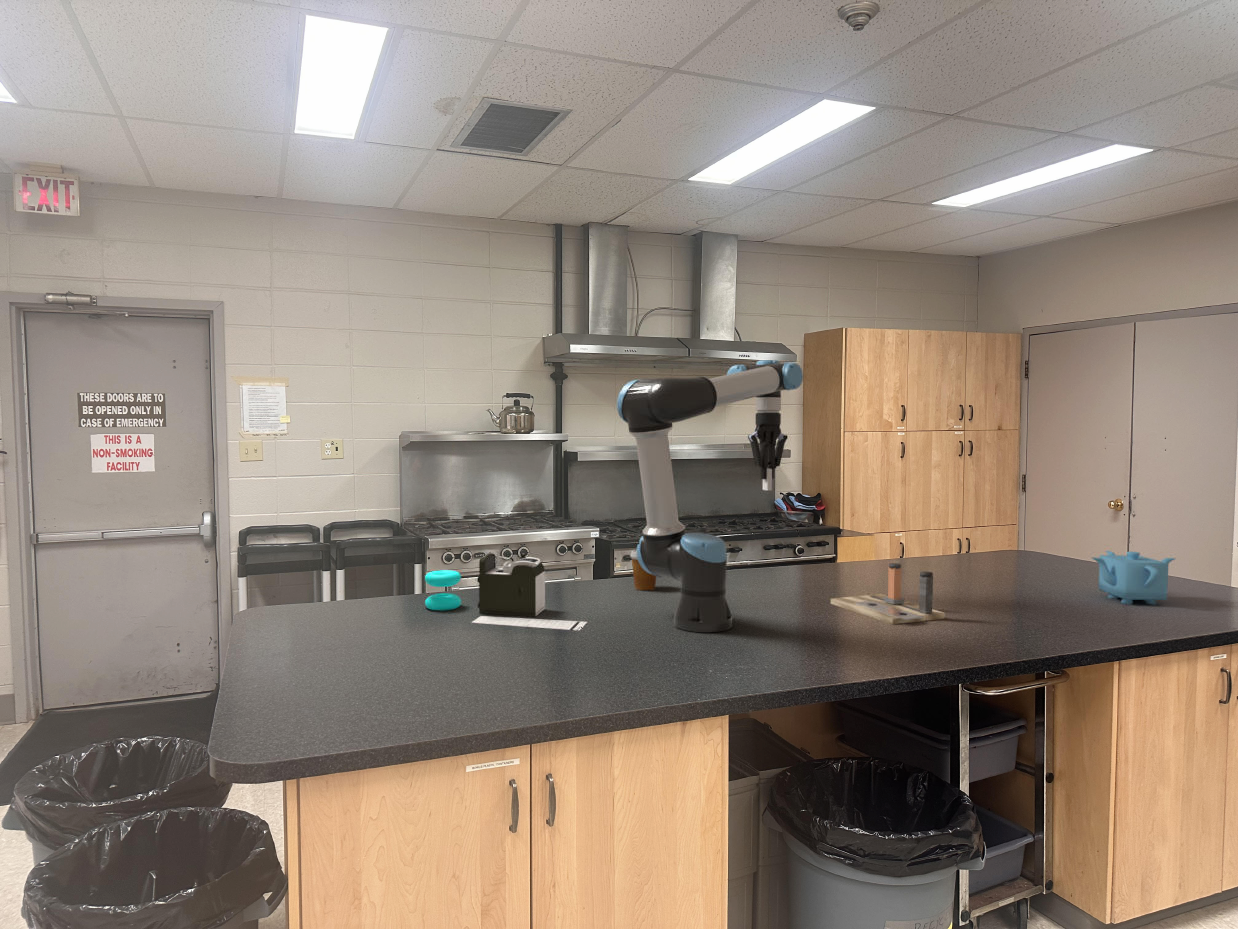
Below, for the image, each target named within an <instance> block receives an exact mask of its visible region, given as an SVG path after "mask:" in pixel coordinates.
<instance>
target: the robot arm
mask: <svg viewBox="0 0 1238 929" xmlns="http://www.w3.org/2000/svg"><path fill="white" fill-rule="evenodd" d="M803 378H804V376H803V369H802V368H801V366H800V365H799V364H798V363H796V362H789V361H788V362H781V361H780V360H776V359H772V360H771V359H764V360H763V359H761V360H757V361H756V364H748V365H745V364H736V365H733V366H731V367H730V368H729V369H728V370H727V373H726V374H724V375H720V376H716V377H712V378H711V377H710V378H708V377H707V376H704V375H703V376H697V377H659V378H657V377H656V378H639V379H635V380H634V379H633V380H631V381H629V382H627V383H625V384H624V385H623V387H622V389H621V390H620V391H619V393H618V396H617V398H616V399H617V401H616V410H617V414H618V416H619V418H621V419H622V421H624V422H625V423H626V424H627V426H628V432H629V434H630V435H631V436H633V437H634V439H635V442H636V449H637V451H636V452H637V458H638V464H639V473H640V481H641V486H642V487H641V489H642V490H641V491H642V497H643V503H644V511H645V519H646V525H645V527H644V528H643V529H642V536H641V537H640V539H639V541H638V542H639V544H637V546H636V550H637V558H638V561H639V564H640V565H641V567H642V568H643V569H644V570H645V571H646V572H648V573H650V574H653V575H655V576H656V578H666V579H669V580H676V581H678V582H679V581H680V597H679V599H678V602H677V606H676V609H675V611H674V615H673V626H674V627H675V628H678V629H679V630H684V631H689V632H694V633H695V632H696V633H717V632H718V633H719V632H723V631H724V632H725V631H728V630H730V629H731V628H732V627H733V616H732V613H731V609H730V607H729V602H728V600H727V594H726V593H727V592H726V590H727V560H728V555H727V545H726V542H725V541H724V539H723V538H721V537H719V536H717V535H713V534H710V533H701V532H687V533H686V526H685V524H683V523H682V522H681V521H679V512H678V506H677V497H676V490H675V489H676V488H675V482H674V481H675V480H674V473H673V465H672V457H671V450H670V441H669V433H670V431H671V430H672V428H673V423H679V422H682V421H686V420H690V419H693V418H695V417H700V416H702V415H705V414H709V413H712V412H713V411H714V410H715V408H717V407H722V406H725V405H728V404H733V403H736V402H741V401H744V400H748V399H752V398H755V411H757V412H756V413H755V429H754V432H753V433H752V434H748V436H747V439H748V441H749V443H750V446H751V453H752V456H753V461H754V463H753V464H754V466H755V467H758V468H759V469H760V479H761V480H762V490H763V491H772V490H773V489H772V487H773V486H772V485H773V484H772V483H773V479H775V469H777V467H780V466H781V463H782V462H781V461H782V457H783V452H784V448H785V443H786V441H787V440H788V438H789V437H788V435H787V434H784V433H783V432H782V429H781V423H782V421H781V420H782V414H781V413H780V412H781V411H782V391H791V390H797V389H799V387H801V386H802V383H803V380H804V379H803Z"/></svg>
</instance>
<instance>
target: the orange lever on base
mask: <svg viewBox="0 0 1238 929" xmlns="http://www.w3.org/2000/svg"><path fill="white" fill-rule="evenodd" d="M887 579H888V580H887V581H888V582H887V596H888V597H884V602H887V603H890V604H903V603H905V598H902V597H901V596H902V595H901V594H902V591H901V589H902V564H901V563H896V562H894V563H893V562H892V563H891V562H889V563H888V578H887Z"/></svg>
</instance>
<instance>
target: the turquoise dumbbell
mask: <svg viewBox="0 0 1238 929" xmlns="http://www.w3.org/2000/svg"><path fill="white" fill-rule="evenodd" d="M461 579H462V576H461V573H460V572H458V571H456V570H450V569H449V570H447V569H444V570H443V569H442V570H434V571H430V572H427V573H426V575H424V581H425V583H427V585H429V586H431V587H435V588H436V587H437V588H446V587H452V586H455V585H458V584H459V582H460V581H461ZM424 604H425V607H426V608H427V609H428V610H432V611H451V610H455V609H457V608H459V607H460V606H461V604H462V600H461V597H460V596H459V595H457V594H454V593H451V592H448V593H447V592H440V593H434V594H431V595H429V596H428V597H427V598H426V599H425V600H424Z"/></svg>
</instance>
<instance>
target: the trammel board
mask: <svg viewBox="0 0 1238 929" xmlns="http://www.w3.org/2000/svg"><path fill="white" fill-rule="evenodd" d="M918 589H919V592H918V593H919V594H918V595H919V596H918V598H919V599H918V604H915V603H912V602H910V601H905V603H903V604H890V603H887V602H884V597H888V595H885V594H881V593H877V594H876V593H875V594H868V595H867V594H865V595H855V596H845V597H843V596H842V597H836V598H835V597H834V598H833V597H832V598H830V605H833V606H836V607H840V608H843V609H845V610H848V611H851V612H854V613H857V614H860V615H863V616H866V617H869V618H872V617H873V618H872V619H875V620H879V621H881V620H882V621H881V622H884V621H885V622H884V623H887V624H890V623H891V624H890V625H899V623H900V624H907V623H916V622H917V623H918V622H926V620H927V621H934V620H935V621H936V620H943V619H944V618H945V619H946V612H943V611H939V610H936V609H933V606H934V605H933V603H934V602H933V600H934V599H933V598H934V596H933V595H934V572H932V571H920V573H919V588H918ZM864 601H874V602H877V603H880V604H883V605H887V606H890V607H893V608H896V609H900V610H903V611H906V612H909V613H913V614H916V615H919V616H922V618H916V619H907V620H903V619H900V618H897V617H893V616H890V615H887V614H884V613H881V612H878V611H875V610H872V609H869V608H865V607H862V606H859V605H856V604H854V602H864Z"/></svg>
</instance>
